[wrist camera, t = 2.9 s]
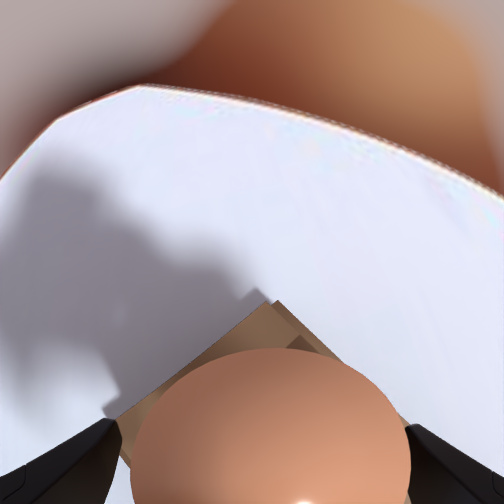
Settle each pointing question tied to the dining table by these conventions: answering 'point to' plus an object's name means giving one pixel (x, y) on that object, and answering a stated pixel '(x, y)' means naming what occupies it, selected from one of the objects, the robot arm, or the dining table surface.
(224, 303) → the dining table surface
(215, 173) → the dining table surface
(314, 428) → the plug
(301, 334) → the wooden socket base
